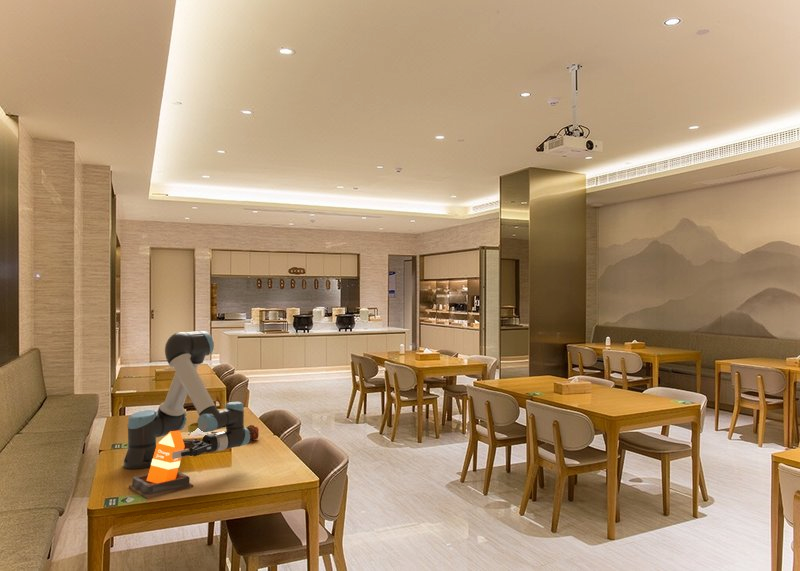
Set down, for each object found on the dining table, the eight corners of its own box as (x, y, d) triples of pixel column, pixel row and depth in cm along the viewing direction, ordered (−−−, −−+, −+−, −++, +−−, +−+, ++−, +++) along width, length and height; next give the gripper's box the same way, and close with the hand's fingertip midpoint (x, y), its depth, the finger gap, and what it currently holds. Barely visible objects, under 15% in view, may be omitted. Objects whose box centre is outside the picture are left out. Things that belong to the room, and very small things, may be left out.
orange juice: (146, 480, 224) (160, 429, 227) (157, 477, 232) (171, 428, 236) (164, 485, 223) (178, 433, 226) (175, 482, 231) (188, 432, 235)
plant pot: (202, 446, 291) (202, 426, 291) (184, 445, 293) (184, 425, 293) (213, 440, 301) (213, 422, 301) (195, 440, 303) (195, 421, 303)
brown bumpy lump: (252, 446, 296) (247, 444, 306) (265, 434, 300) (259, 433, 310) (241, 433, 294) (237, 432, 305) (254, 422, 298) (249, 421, 309)
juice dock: (128, 487, 228) (128, 477, 228) (173, 477, 241) (173, 467, 241) (147, 498, 215) (147, 488, 216) (192, 486, 228) (192, 476, 228)
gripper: (229, 456, 235) (178, 468, 220) (200, 446, 253) (152, 455, 238) (229, 438, 236) (178, 448, 221) (200, 429, 253) (152, 437, 238)
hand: (164, 452), depth 229 cm, fingers open, 13 cm apart
